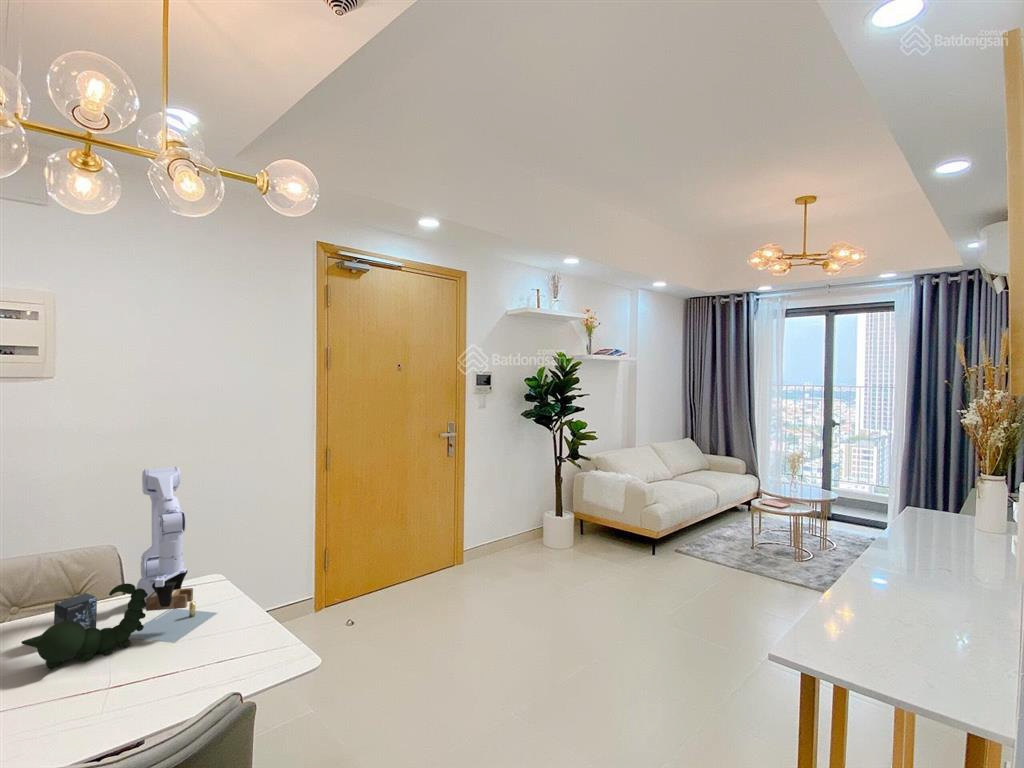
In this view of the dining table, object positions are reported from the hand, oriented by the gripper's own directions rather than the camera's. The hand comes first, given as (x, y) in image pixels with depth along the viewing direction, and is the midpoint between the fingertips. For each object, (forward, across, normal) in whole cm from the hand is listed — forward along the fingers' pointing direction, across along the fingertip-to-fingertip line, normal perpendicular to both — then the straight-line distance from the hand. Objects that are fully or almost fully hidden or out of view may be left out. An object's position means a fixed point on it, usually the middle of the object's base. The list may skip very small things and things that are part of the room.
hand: (169, 601), depth 151 cm
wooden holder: (+1, 0, 0) cm, 1 cm away
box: (+10, +2, +24) cm, 26 cm away
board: (+9, +4, +1) cm, 10 cm away
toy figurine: (+10, -11, +15) cm, 21 cm away
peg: (+9, +8, -3) cm, 13 cm away
